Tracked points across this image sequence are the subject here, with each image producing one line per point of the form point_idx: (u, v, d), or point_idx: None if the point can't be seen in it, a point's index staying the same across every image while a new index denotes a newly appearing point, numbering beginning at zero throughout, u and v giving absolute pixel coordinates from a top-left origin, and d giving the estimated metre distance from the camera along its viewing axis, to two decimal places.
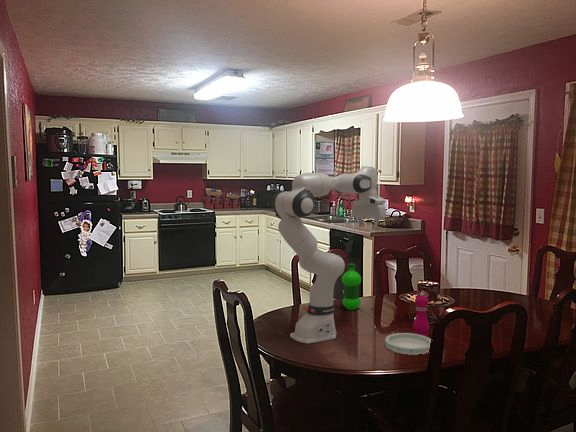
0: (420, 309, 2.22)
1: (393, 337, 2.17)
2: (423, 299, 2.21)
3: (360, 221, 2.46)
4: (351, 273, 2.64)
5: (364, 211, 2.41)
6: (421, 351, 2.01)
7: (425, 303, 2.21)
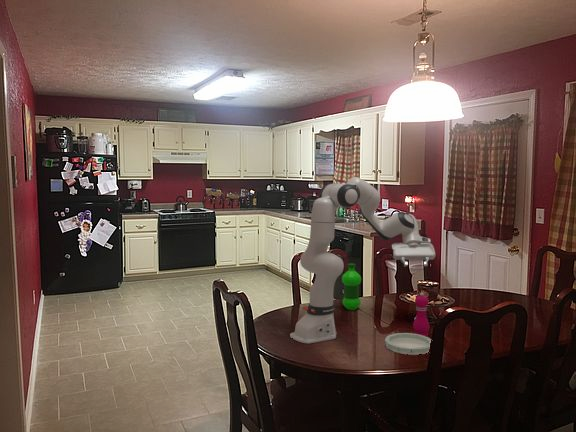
0: (420, 309, 2.22)
1: (393, 337, 2.17)
2: (423, 299, 2.21)
3: None
4: (351, 273, 2.64)
5: (412, 250, 2.39)
6: (421, 351, 2.01)
7: (425, 303, 2.21)
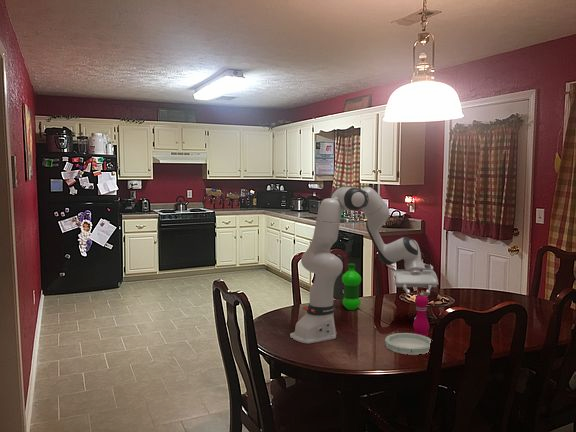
0: (420, 309, 2.22)
1: (393, 337, 2.17)
2: (423, 299, 2.21)
3: None
4: (351, 273, 2.64)
5: (414, 277, 2.35)
6: (421, 351, 2.01)
7: (425, 303, 2.21)
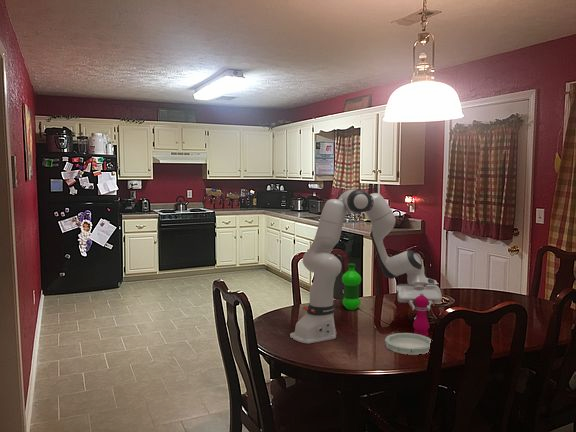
0: (420, 309, 2.22)
1: (393, 337, 2.17)
2: (423, 299, 2.21)
3: None
4: (351, 273, 2.64)
5: (417, 292, 2.28)
6: (421, 351, 2.01)
7: (425, 303, 2.21)
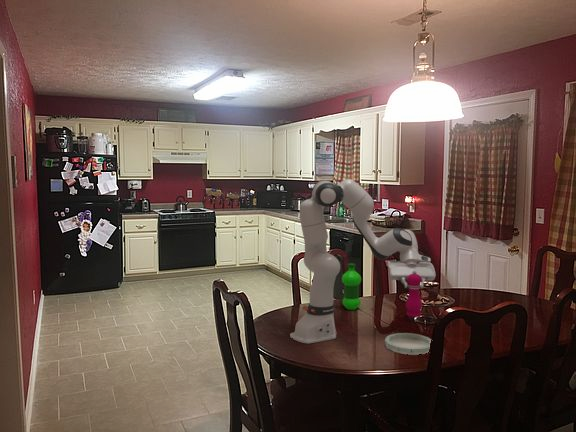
0: (413, 287, 2.12)
1: (393, 337, 2.17)
2: (416, 277, 2.12)
3: None
4: (351, 273, 2.64)
5: (410, 270, 2.18)
6: (421, 351, 2.01)
7: (418, 281, 2.12)
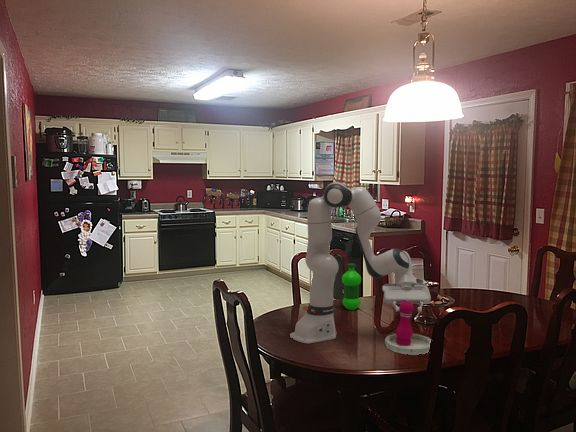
0: (404, 315, 2.08)
1: (393, 337, 2.17)
2: (408, 305, 2.08)
3: None
4: (351, 273, 2.64)
5: (405, 293, 2.15)
6: (421, 351, 2.01)
7: (410, 309, 2.08)
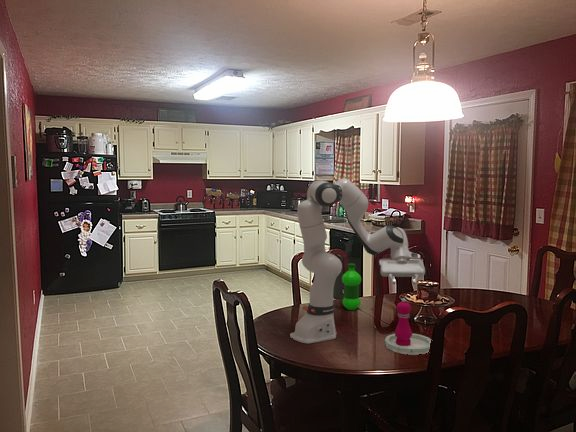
0: (402, 316, 2.08)
1: (393, 337, 2.17)
2: (405, 305, 2.08)
3: None
4: (351, 273, 2.64)
5: (400, 266, 2.26)
6: (421, 351, 2.01)
7: (407, 310, 2.07)
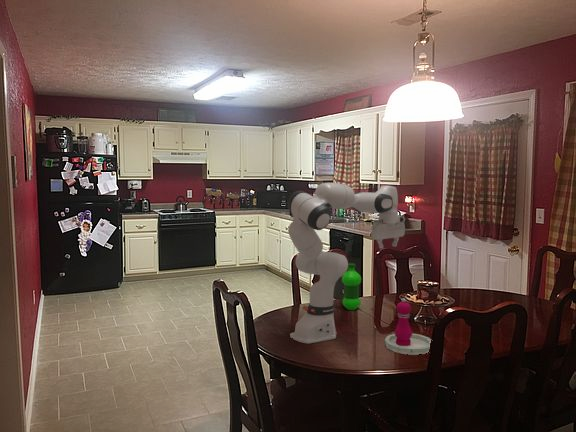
0: (402, 316, 2.08)
1: (393, 337, 2.17)
2: (405, 305, 2.08)
3: None
4: (351, 273, 2.64)
5: (389, 231, 2.32)
6: (421, 351, 2.01)
7: (407, 310, 2.07)
